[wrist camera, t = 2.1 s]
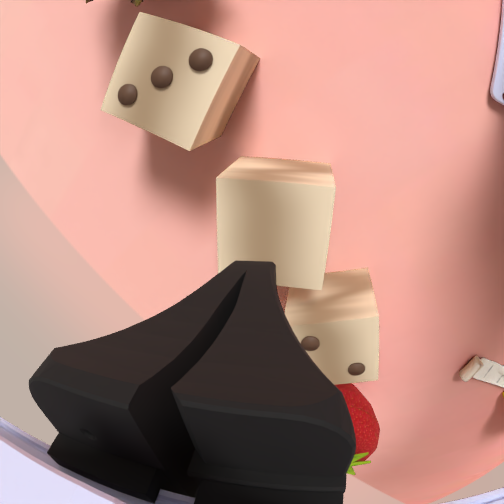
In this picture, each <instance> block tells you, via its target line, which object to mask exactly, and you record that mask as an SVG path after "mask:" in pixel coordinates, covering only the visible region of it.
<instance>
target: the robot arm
mask: <svg viewBox="0 0 504 504" xmlns="http://www.w3.org/2000/svg"><path fill="white" fill-rule="evenodd" d="M503 93H504V0H503V2H502V15H501V25H500V34H499V41H498V49H497V55H496V61H495V67H494V72H493V78H492V83H491V87H490V94H491V97H492V98H493V99H494V100H495V101H497V102H499V103H500V104H502V105H504V100H503V98H502V94H503ZM29 389H30V392H31V394H32V397H33V399H34V400H35V402H36V403H37V405H38V406H39V408H40V409H41V410H42V411H43V413H44V414H45V416H46V417H47V418H48V419H49V421H50V422H51V423H52V424H53V426H54V427H55V428H56V429H57V431H58V432H59V434H58V435H57V437H56V439H55V440H54V442H53V443H52V445H51V446H50V445H48V444H46V443H45V442H42V441H41V440H39V439H37V438H35V437H33V436H32V435H30V434H28V433H26V432H25V431H23V430H21V429H19V428H18V427H16V426H14V425H13V424H11V423H10V422H8V421H6V420H5V419H3V418H2V417H0V504H343V493H344V492H345V489H346V473H347V471H348V469H349V467H350V464H351V462H352V460H353V457H354V455H355V451H356V437H355V431H354V426H353V422H352V419H351V415H350V412H349V409H348V407H347V404H346V401H345V399H344V396H343V393H342V392H341V391H340V390H339V389H338V388H337V387H336V386H335V385H334V384H333V383H332V382H331V381H330V380H329V379H328V378H327V377H326V376H325V375H324V374H323V372H322V371H321V370H320V369H319V368H318V366H317V365H316V364H315V363H314V362H313V360H312V359H311V358H310V356H309V355H308V353H307V352H306V351H305V349H304V348H303V346H302V345H301V343H300V342H299V340H298V339H297V337H296V335H295V333H294V332H293V330H292V328H291V326H290V324H289V322H288V320H287V318H286V316H285V313H284V311H283V308H282V306H281V303H280V300H279V297H278V293H277V285H276V265H275V264H274V263H273V262H270V261H238V260H236V261H234V262H233V263H231V264H230V265H229V266H227V267H226V268H225V269H224V270H222V271H221V272H220V273H219V274H217V275H216V276H215V277H213V278H212V279H211V280H210V281H208V282H207V283H206V284H204V285H203V286H202V287H200V288H199V289H197V290H196V291H194V292H193V293H192V294H190V295H189V296H187V297H186V298H184V299H183V300H181V301H180V302H178V303H177V304H175V305H173V306H172V307H170V308H168V309H166V310H165V311H163V312H161V313H159V314H157V315H155V316H153V317H151V318H149V319H147V320H145V321H143V322H140V323H138V324H136V325H133V326H131V327H129V328H126V329H124V330H121V331H118V332H116V333H113V334H110V335H107V336H104V337H100V338H97V339H93V340H90V341H86V342H82V343H77V344H73V345H68V346H64V347H58V348H54V350H53V351H52V352H51V353H50V355H49V356H48V357H47V358H46V360H45V361H44V362H43V363H42V364H41V366H40V367H39V368H38V369H37V371H36V372H35V373H34V374H33V376H32V377H31V378H30V380H29ZM440 504H504V487H503V488H499V489H496V490H493V491H490V492H486V493H483V494H479V495H475V496H471V497H467V498H463V499H459V500H454V501H450V502H445V503H440Z"/></svg>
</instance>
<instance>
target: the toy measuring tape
mask: <svg viewBox="0 0 504 504" xmlns="http://www.w3.org/2000/svg"><path fill="white" fill-rule="evenodd" d="M459 376H460V378H461V379H462V380H463V381H465V382H467V381H468V380H469V379H471V378H472V377H473V378H475V379H478V380H481V381H484V382H489V383H491V384H494V385H497V386H500V387H503V388H504V365H501V364H499V363H497V362H494V361H491V360H489V359H486V358H481V359H480V358H479V357H478V356H477V355H476V356H475V357H474V358H473V359H472V360H471V361H470V362H469V363H468V364H467V365H466V366H465V367H464V368H463V369H462V370H460V372H459ZM502 394H503V397H504V391H503V392H502Z"/></svg>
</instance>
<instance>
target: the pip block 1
mask: <svg viewBox="0 0 504 504" xmlns="http://www.w3.org/2000/svg"><path fill="white" fill-rule="evenodd" d="M259 60H260V58H259V57H258V56H256V55H255V54H253V53H252V52H250V51H249V50H247V49H246V48H244V47H243V46H241V45H239V44H237V43H234V42H232V41H229V40H227V39H224V38H221V37H219V36H216V35H213V34H211V33H208V32H205V31H202V30H199V29H196V28H193V27H190V26H187V25H184V24H181V23H178V22H175V21H171V20H168V19H164V18H161V17H157V16H154V15H150V14H146V13H142V12H139V14H138V16H137V18H136V21H135V23H134V25H133V27H132V29H131V31H130V34H129V36H128V38H127V41H126V43H125V45H124V48H123V50H122V53H121V55H120V57H119V60H118V62H117V65H116V68H115V70H114V73H113V76H112V78H111V81H110V84H109V87H108V89H107V92H106V95H105V98H104V101H103V104H102V107H101V111H104V112H106V113H108V114H111V115H113V116H115V117H117V118H120V119H122V120H124V121H126V122H129V123H131V124H133V125H135V126H137V127H139V128H142V129H144V130H146V131H148V132H150V133H152V134H155V135H157V136H159V137H161V138H163V139H165V140H167V141H169V142H171V143H174V144H176V145H178V146H180V147H182V148H184V149H186V150H188V151H191V150H193V149H195V148H197V147H199V146H201V145H204V144H206V143H208V142H210V141H212V140H214V139H216V138H218V137H221V135H222V133H223V131H224V129H225V127H226V125H227V123H228V121H229V118H230V116H231V114H232V112H233V110H234V108H235V106H236V104H237V102H238V100H239V98H240V96H241V94H242V92H243V90H244V88H245V86H246V85H247V83H248V81H249V79H250V77H251V75H252V73H253V71H254V69H255V67H256V65H257V64H258V62H259Z"/></svg>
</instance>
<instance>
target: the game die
mask: <svg viewBox="0 0 504 504" xmlns="http://www.w3.org/2000/svg"><path fill="white" fill-rule="evenodd" d="M90 1H93V0H86V3H88V2H90ZM131 2H132V3H134V4H135V6H136V7H138V6H139V5H140V3H141V2H143V0H132V1H131Z"/></svg>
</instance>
